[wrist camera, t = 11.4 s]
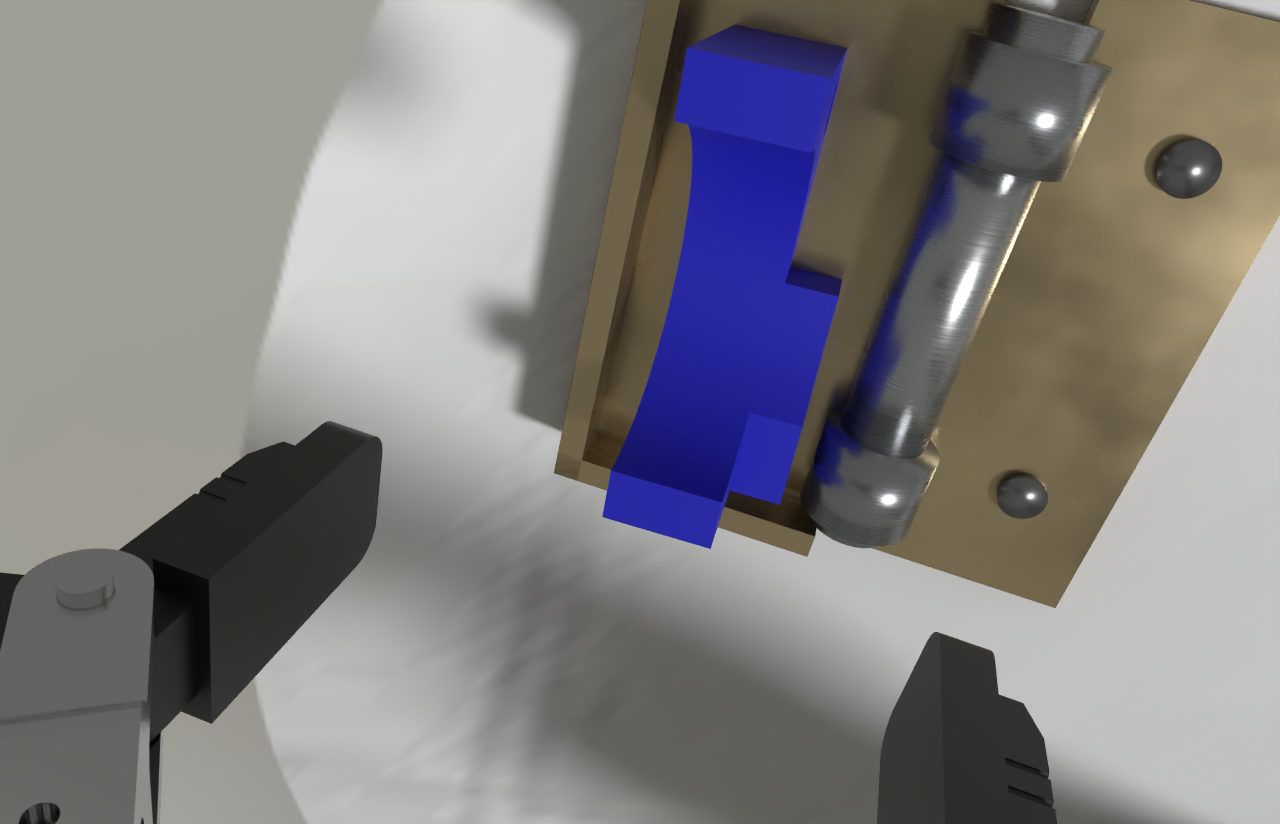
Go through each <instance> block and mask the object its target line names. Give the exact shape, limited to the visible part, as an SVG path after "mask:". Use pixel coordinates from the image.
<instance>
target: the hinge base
mask: <svg viewBox="0 0 1280 824" xmlns="http://www.w3.org/2000/svg"><path fill="white" fill-rule="evenodd" d="M1005 1H1006V0H647V4H646V9H645V14H644V19H643V24H642V29H641V34H640V39H639V44H638V49H637V54H636V59H635V65H634V70H633V75H632V80H631V85H630V90H629V95H628V100H627V105H626V110H625V115H624V120H623V126H622V131H621V136H620V141H619V146H618V151H617V156H616V161H615V166H614V171H613V176H612V181H611V186H610V192H609V197H608V202H607V207H606V212H605V217H604V222H603V227H602V232H601V237H600V242H599V247H598V252H597V258H596V263H595V268H594V273H593V278H592V283H591V288H590V293H589V298H588V303H587V308H586V313H585V318H584V324H583V329H582V334H581V339H580V344H579V349H578V354H577V359H576V364H575V369H574V374H573V379H572V384H571V390H570V395H569V400H568V405H567V410H566V415H565V420H564V425H563V430H562V435H561V440H560V445H559V450H558V456H557V461H556V466H555V471H554V473H555V474H558V475H562V476H565V477H568V478H571V479H574V480H577V481H580V482H583V483H586V484H589V485H592V486H595V487H598V488H601V489H604V490H607V489H608V484H609V478H610V473H611V469H612V468H613V466H614V464H615V462H616V460H617V458H618V456H619V454H620V452H621V450H622V447H623V445H624V443H625V440H626V438H627V436H628V433H629V431H630V428H631V426H632V423H633V421H634V418H635V416H636V413H637V410H638V407H639V405H640V402H641V399H642V396H643V393H644V390H645V387H646V384H647V381H648V378H649V375H650V372H651V369H652V366H653V362H654V359H655V356H656V352H657V349H658V345H659V342H660V338H661V335H662V331H663V327H664V324H665V320H666V316H667V312H668V308H669V304H670V300H671V296H672V291H673V287H674V283H675V278H676V273H677V269H678V264H679V259H680V254H681V249H682V243H683V238H684V232H685V226H686V219H687V212H688V205H689V197H690V187H691V175H692V140H691V133H690V129H689V126H688V124H683V123H679V122H675V121H674V118H675V112H676V107H677V101H678V96H679V90H680V85H681V79H682V73H683V68H684V62H685V57H686V51H687V47H689V46H691V45H694V44H696V43H698V42H700V41H702V40H704V39H706V38H708V37H710V36H712V35H714V34H716V33H718V32H720V31H722V30H724V29H726V28H728V27H730V26H732V25H734V24H735V25H740V26H745V27H750V28H754V29H759V30H764V31H769V32H773V33H778V34H783V35H788V36H792V37H797V38H802V39H807V40H811V41H816V42H821V43H826V44H830V45H835V46H840V47H845V48H848V50H847V54H846V58H845V61H844V65H843V69H842V73H841V77H840V81H839V85H838V88H837V92H836V96H835V100H834V104H833V108H832V111H831V115H830V119H829V123H828V127H827V131H826V134H825V138H824V142H823V146H822V150H821V154H820V157H819V161H818V165H817V169H816V173H815V177H814V181H813V184H812V188H811V192H810V196H809V200H808V204H807V207H806V211H805V215H804V219H803V223H802V227H801V230H800V234H799V238H798V242H797V246H796V250H795V254H794V257H793V261H792V265H791V267H794V268H798V269H802V270H806V271H810V272H814V273H818V274H822V275H826V276H830V277H834V278H838V279H842V284H841V289H840V294H839V298H838V302H837V305H836V309H835V312H834V316H833V319H832V323H831V326H830V330H829V333H828V337H827V340H826V344H825V347H824V351H823V354H822V358H821V361H820V365H819V369H818V372H817V376H816V379H815V383H814V387H813V390H812V394H811V398H810V401H809V405H808V409H807V412H806V416H805V420H804V424H803V427H802V431H801V434H800V438H799V441H798V444H797V448H796V451H795V455H794V458H793V461H792V465H791V468H790V472H789V475H788V479H787V482H786V485H785V489H784V492H783V496H782V499H781V502H780V505H779V504H775V503H772V502H768V501H765V500H761V499H758V498H754V497H751V496H747V495H744V494H740V493H737V492H733V491H729V494H728V497H727V500H726V503H725V506H724V509H723V512H722V515H721V518H720V521H719V524H718V527H719V528H722V529H725V530H728V531H731V532H734V533H737V534H740V535H743V536H746V537H749V538H752V539H755V540H758V541H761V542H764V543H767V544H770V545H773V546H776V547H779V548H782V549H785V550H788V551H791V552H794V553H798V554H801V555H804V556H808V554H809V551H810V548H811V546H812V543H813V540H814V538H815V533H816V528H817V529H819V530H820V531H821V532H822V533H823V534H825V535H826V536H828V537H830V538H831V539H833V540H835V541H838V542H840V543H842V544H845V545H849V546H853V547H858V548H873V549H876V550H879V551H882V552H885V553H889V554H892V555H895V556H898V557H901V558H904V559H907V560H910V561H913V562H916V563H919V564H922V565H925V566H928V567H931V568H935V569H938V570H941V571H944V572H947V573H950V574H953V575H956V576H959V577H962V578H965V579H968V580H971V581H974V582H977V583H980V584H984V585H987V586H990V587H993V588H996V589H999V590H1002V591H1005V592H1008V593H1011V594H1014V595H1017V596H1020V597H1023V598H1026V599H1029V600H1033V601H1036V602H1039V603H1042V604H1045V605H1048V606H1051V607H1054V608H1056V606H1057V604H1058V603H1059V601H1060V599H1061V597H1062V596H1063V594H1064V592H1065V590H1066V589H1067V587H1068V585H1069V583H1070V582H1071V580H1072V578H1073V576H1074V575H1075V573H1076V571H1077V569H1078V568H1079V566H1080V564H1081V562H1082V561H1083V559H1084V557H1085V555H1086V554H1087V552H1088V550H1089V548H1090V547H1091V545H1092V543H1093V541H1094V540H1095V538H1096V536H1097V534H1098V532H1099V531H1100V529H1101V527H1102V525H1103V524H1104V522H1105V520H1106V518H1107V517H1108V515H1109V513H1110V511H1111V510H1112V508H1113V506H1114V504H1115V503H1116V501H1117V499H1118V497H1119V496H1120V494H1121V492H1122V490H1123V489H1124V487H1125V485H1126V483H1127V482H1128V480H1129V478H1130V476H1131V475H1132V473H1133V471H1134V469H1135V468H1136V466H1137V464H1138V462H1139V461H1140V459H1141V457H1142V455H1143V454H1144V452H1145V450H1146V448H1147V447H1148V445H1149V443H1150V441H1151V440H1152V438H1153V436H1154V434H1155V433H1156V431H1157V429H1158V427H1159V426H1160V424H1161V422H1162V420H1163V419H1164V417H1165V415H1166V413H1167V412H1168V410H1169V408H1170V406H1171V405H1172V403H1173V401H1174V399H1175V398H1176V396H1177V394H1178V392H1179V391H1180V389H1181V387H1182V385H1183V384H1184V382H1185V380H1186V378H1187V377H1188V375H1189V373H1190V371H1191V370H1192V368H1193V366H1194V364H1195V363H1196V361H1197V359H1198V357H1199V356H1200V354H1201V352H1202V350H1203V349H1204V347H1205V345H1206V343H1207V342H1208V340H1209V338H1210V336H1211V335H1212V333H1213V331H1214V329H1215V328H1216V326H1217V324H1218V322H1219V321H1220V319H1221V317H1222V315H1223V314H1224V312H1225V310H1226V308H1227V307H1228V305H1229V303H1230V301H1231V300H1232V298H1233V296H1234V294H1235V293H1236V291H1237V289H1238V287H1239V286H1240V284H1241V282H1242V280H1243V279H1244V277H1245V275H1246V273H1247V272H1248V270H1249V268H1250V266H1251V265H1252V263H1253V261H1254V259H1255V258H1256V256H1257V254H1258V252H1259V251H1260V249H1261V247H1262V245H1263V244H1264V242H1265V240H1266V238H1267V237H1268V235H1269V233H1270V231H1271V229H1272V228H1273V226H1274V224H1275V222H1276V221H1277V219H1278V217H1279V215H1280V22H1277V21H1273V20H1269V19H1265V18H1260V17H1256V16H1252V15H1248V14H1244V13H1240V12H1236V11H1231V10H1227V9H1223V8H1219V7H1215V6H1211V5H1207V4H1203V3H1198V2H1194V1H1190V0H1093V1H1092V3H1091V6H1090V8H1089V10H1088V13H1087V15H1086V18H1085V20H1084V22H1083V23H1079V22H1075V21H1072V20H1068V19H1064V18H1060V17H1057V16H1053V15H1049V14H1045V13H1041V12H1037V11H1033V10H1028V9H1024V8H1020V7H1015V6H1011V5H1006V4H1005ZM1018 1H1019V0H1018Z"/></svg>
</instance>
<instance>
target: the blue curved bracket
mask: <svg viewBox="0 0 1280 824" xmlns="http://www.w3.org/2000/svg"><path fill="white" fill-rule="evenodd" d="M847 50H848V48H845V47H840V46H835V45H830V44H826V43H821V42H816V41H811V40H807V39H802V38H797V37H792V36H788V35H783V34H778V33H773V32H769V31H764V30H759V29H754V28H750V27H745V26H740V25H735V24H734V25H732V26H730V27H728V28H726V29H724V30H722V31H720V32H718V33H716V34H714V35H712V36H710V37H708V38H706V39H704V40H702V41H700V42H698V43H696V44H694V45H691V46H689V47H687V51H686V57H685V62H684V68H683V73H682V79H681V85H680V90H679V96H678V101H677V107H676V112H675V118H674V121H675V122H679V123H683V124H688V126H689V129H690V133H691V140H692V175H691V187H690V197H689V205H688V212H687V219H686V226H685V232H684V238H683V243H682V249H681V254H680V259H679V264H678V269H677V273H676V278H675V283H674V287H673V291H672V296H671V300H670V304H669V308H668V312H667V316H666V320H665V324H664V327H663V331H662V335H661V338H660V342H659V345H658V349H657V352H656V356H655V359H654V362H653V366H652V369H651V372H650V375H649V378H648V381H647V384H646V387H645V390H644V393H643V396H642V399H641V402H640V405H639V407H638V410H637V413H636V416H635V418H634V421H633V423H632V426H631V428H630V431H629V433H628V436H627V438H626V440H625V443H624V445H623V447H622V450H621V452H620V454H619V456H618V458H617V460H616V462H615V464H614V466H613V468H612V469H611V473H610V478H609V484H608V489H607V495H606V500H605V506H604V512H603V517H604V518H608V519H611V520H615V521H618V522H621V523H625V524H628V525H631V526H635V527H638V528H642V529H645V530H648V531H652V532H655V533H659V534H662V535H665V536H669V537H672V538H676V539H679V540H682V541H686V542H689V543H692V544H696V545H699V546H703V547H706V548H709V549H711V546H712V543H713V540H714V536H715V533H716V530H717V527H718V524H719V521H720V518H721V515H722V512H723V509H724V506H725V503H726V500H727V497H728V494H729V491H733V492H737V493H740V494H744V495H747V496H751V497H754V498H758V499H761V500H765V501H768V502H772V503H775V504H779V505H780V502H781V499H782V496H783V492H784V489H785V485H786V482H787V479H788V475H789V472H790V468H791V465H792V461H793V458H794V455H795V451H796V448H797V444H798V441H799V438H800V434H801V431H802V427H803V424H804V420H805V416H806V412H807V409H808V405H809V401H810V398H811V394H812V390H813V387H814V383H815V379H816V376H817V372H818V369H819V365H820V361H821V358H822V354H823V351H824V347H825V344H826V340H827V337H828V333H829V330H830V326H831V323H832V319H833V316H834V312H835V309H836V305H837V302H838V298H839V294H840V289H841V284H842V279H838V278H834V277H830V276H826V275H822V274H818V273H814V272H810V271H806V270H802V269H798V268H794V267H791V265H792V261H793V257H794V254H795V250H796V246H797V242H798V238H799V234H800V230H801V227H802V223H803V219H804V215H805V211H806V207H807V204H808V200H809V196H810V192H811V188H812V184H813V181H814V177H815V173H816V169H817V165H818V161H819V157H820V154H821V150H822V146H823V142H824V138H825V134H826V131H827V127H828V123H829V119H830V115H831V111H832V108H833V104H834V100H835V96H836V92H837V88H838V85H839V81H840V77H841V73H842V69H843V65H844V61H845V58H846V54H847Z"/></svg>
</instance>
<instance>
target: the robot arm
mask: <svg viewBox="0 0 1280 824" xmlns="http://www.w3.org/2000/svg"><path fill="white" fill-rule="evenodd" d="M381 461H382V443H381V441H380V439H379V438H378V437H375V436H372V435H370V434H367V433H364V432H361V431H358V430H355V429H352V428H349V427H346V426H343V425H341V424H338V423H335V422H332V421H329V422H326V423H324V424H322V425H321V426H319V427H318V428H317V429H316V430H314V431H313V432H312V433H311V434H309V435H308V436H307V437H306V438H304V439H303V440H302V441H300V442H299V443H298V444H297V445H295V446H294V445H291V444H289V443H286V442H281V443H278V444H275V445H272V446H269V447H266V448H263V449H261V450H258V451H255V452H252V453H249V454H247V455H246V456H244V457H243V458H242V459H240V460H239V461H238V462H236V463H235V464H233V466H231V467H229V468H228V469H227V470H225V471H224V472H223V473H222V474H221V477H220V478H215V479H214V480H212V481H211V482H210V483H208V484H207V485H205V486H204V487H203V488H201V489H200V492H199V494H194V495H192V496H191V497H189V498H188V499H187V500H185V501H184V502H183V503H181V504H180V505H179V506H178V507H176V508H175V509H173V510H172V511H171V512H169V513H168V514H167V515H165V516H164V517H163V518H161V519H160V520H159V521H157V522H156V523H154V524H153V525H152V526H150V527H149V528H148V529H147V530H145V531H144V532H142V533H141V534H140V535H139V536H137V537H136V538H134V539H133V540H132V541H130V542H129V543H128V544H126V545H125V546H124V547H122V548H121V549H120V550H111V549H85V550H78V551H73V552H69V553H65V554H62V555H59V556H56V557H53V558H51V559H48V560H46V561H44V562H42V563H41V564H39V565H37V566H36V567H34V568H33V569H32V570H30V571H29V572H28V573H27V574H26V575H18V574H9V573H0V824H160V810H161V783H162V760H163V729H164V728H165V727H166V726H167V725H168V724H169V723H170V722H171V721H172V720H173V719H174V718H175V717H176V716H177V715H178V714H179V713H180V712H181V711H182V712H184V713H187V714H189V715H191V716H194V717H196V718H199V719H201V720H204V721H206V722H209V723H211V724H212V723H213V722H214V721H215V719H217V717H218V716H219V715H220V714H221V713H222V712H223V711H224V710H225V709H226V708H227V707H228V705H229V704H230V703H231V702H232V701H233V700H234V699H235V698H236V697H237V696H238V695H239V693H240V692H241V691H242V690H243V689H244V688H245V687H246V686H247V685H248V684H249V683H250V681H251V680H252V679H253V678H254V677H255V676H256V675H257V674H258V673H259V672H260V671H261V670H262V668H263V667H264V666H265V665H266V664H267V663H268V662H269V661H270V660H271V659H272V658H273V656H274V655H275V654H276V653H277V652H278V651H279V650H280V649H281V648H282V647H283V646H284V644H285V643H286V642H287V641H288V640H289V639H290V638H291V637H292V636H293V635H294V634H295V633H296V631H297V630H298V629H299V628H300V627H301V626H302V625H303V624H304V623H305V622H306V621H307V619H308V618H309V617H310V616H311V615H312V614H313V613H314V612H315V611H316V610H317V609H318V607H319V606H320V605H321V604H322V603H323V602H324V601H325V600H326V599H327V598H328V597H329V595H330V594H331V593H332V592H333V591H334V590H335V589H336V588H337V587H338V586H339V585H340V584H341V582H342V581H343V580H344V579H345V578H346V577H347V576H348V575H349V574H350V573H351V572H352V570H353V569H354V568H355V567H356V566H357V565H358V564H359V562H360V561H361V560H362V558H363V556H364V555H365V553H366V551H367V549H368V547H369V545H370V542H371V540H372V537H373V534H374V530H375V525H376V516H377V505H378V494H379V483H380V472H381ZM1048 775H1049V768H1048V761H1047V755H1046V748H1045V742H1044V738H1043V736H1042V735H1041V733H1040V731H1039V729H1038V728H1037V726H1036V724H1035V723H1034V721H1033V719H1032V717H1031V716H1030V714H1029V712H1028V711H1027V709H1026V707H1025V706H1024V704H1023V703H1021V702H1018V701H1016V700H1013V699H1010V698H1007V697H1004V696H1001V695H998V685H997V675H996V665H995V658H994V654H993V652H992V651H990V650H988V649H985V648H982V647H979V646H976V645H973V644H970V643H967V642H964V641H962V640H959V639H956V638H953V637H950V636H947V635H944V634H941V633H938V632H934V633H933V634H932V635H931V636H930V638H929V639H928V641H927V643H926V645H925V647H924V649H923V651H922V653H921V655H920V657H919V659H918V661H917V663H916V665H915V667H914V669H913V671H912V673H911V675H910V677H909V679H908V681H907V683H906V685H905V687H904V689H903V691H902V693H901V695H900V697H899V699H898V702H897V704H896V706H895V708H894V710H893V712H892V714H891V717H890V719H889V722H888V725H887V728H886V732H885V736H884V740H883V745H882V750H881V759H880V777H879V797H878V816H877V824H1057V819H1056V813H1055V809H1053V808H1052V805H1053V802H1054V800H1053V794H1052V787H1051V781H1050V780H1049V779H1048Z"/></svg>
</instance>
